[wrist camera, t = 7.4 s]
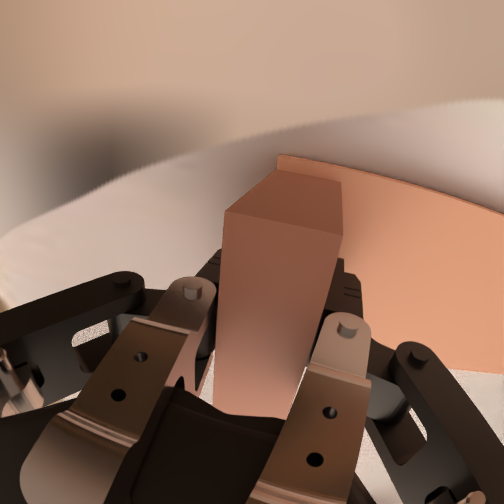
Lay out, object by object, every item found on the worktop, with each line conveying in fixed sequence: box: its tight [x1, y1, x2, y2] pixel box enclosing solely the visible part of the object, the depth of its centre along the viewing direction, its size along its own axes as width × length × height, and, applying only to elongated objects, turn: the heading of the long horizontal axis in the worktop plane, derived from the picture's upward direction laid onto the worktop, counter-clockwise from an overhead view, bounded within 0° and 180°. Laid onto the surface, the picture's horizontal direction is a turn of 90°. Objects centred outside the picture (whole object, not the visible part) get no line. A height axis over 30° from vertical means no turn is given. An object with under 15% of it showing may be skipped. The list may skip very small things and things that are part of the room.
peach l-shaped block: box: [213, 155, 504, 420], centre depth 8 cm, size 20×8×6 cm, turn 83°
